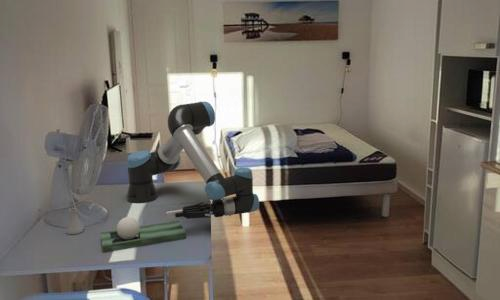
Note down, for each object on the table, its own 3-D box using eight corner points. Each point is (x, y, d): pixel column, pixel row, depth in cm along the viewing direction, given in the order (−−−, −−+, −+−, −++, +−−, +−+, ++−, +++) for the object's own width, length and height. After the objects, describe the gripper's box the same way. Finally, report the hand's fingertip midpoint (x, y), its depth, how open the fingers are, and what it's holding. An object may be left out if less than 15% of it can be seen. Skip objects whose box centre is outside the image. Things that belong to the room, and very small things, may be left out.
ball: (129, 218, 197) (134, 239, 196) (110, 222, 191) (115, 244, 189) (141, 212, 191) (146, 234, 190) (121, 216, 185) (126, 239, 183)
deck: (101, 238, 194) (100, 232, 193) (179, 225, 204) (178, 220, 204) (103, 252, 181) (102, 246, 181) (186, 238, 191) (185, 232, 191)
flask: (78, 235, 198) (75, 212, 195) (62, 234, 199) (59, 212, 197) (87, 228, 205) (85, 206, 202) (72, 227, 206) (69, 206, 204)
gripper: (227, 221, 196) (170, 230, 188) (219, 210, 208) (165, 218, 201) (226, 203, 194) (168, 212, 187) (218, 194, 206) (163, 201, 199)
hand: (166, 215), depth 194 cm, fingers closed
